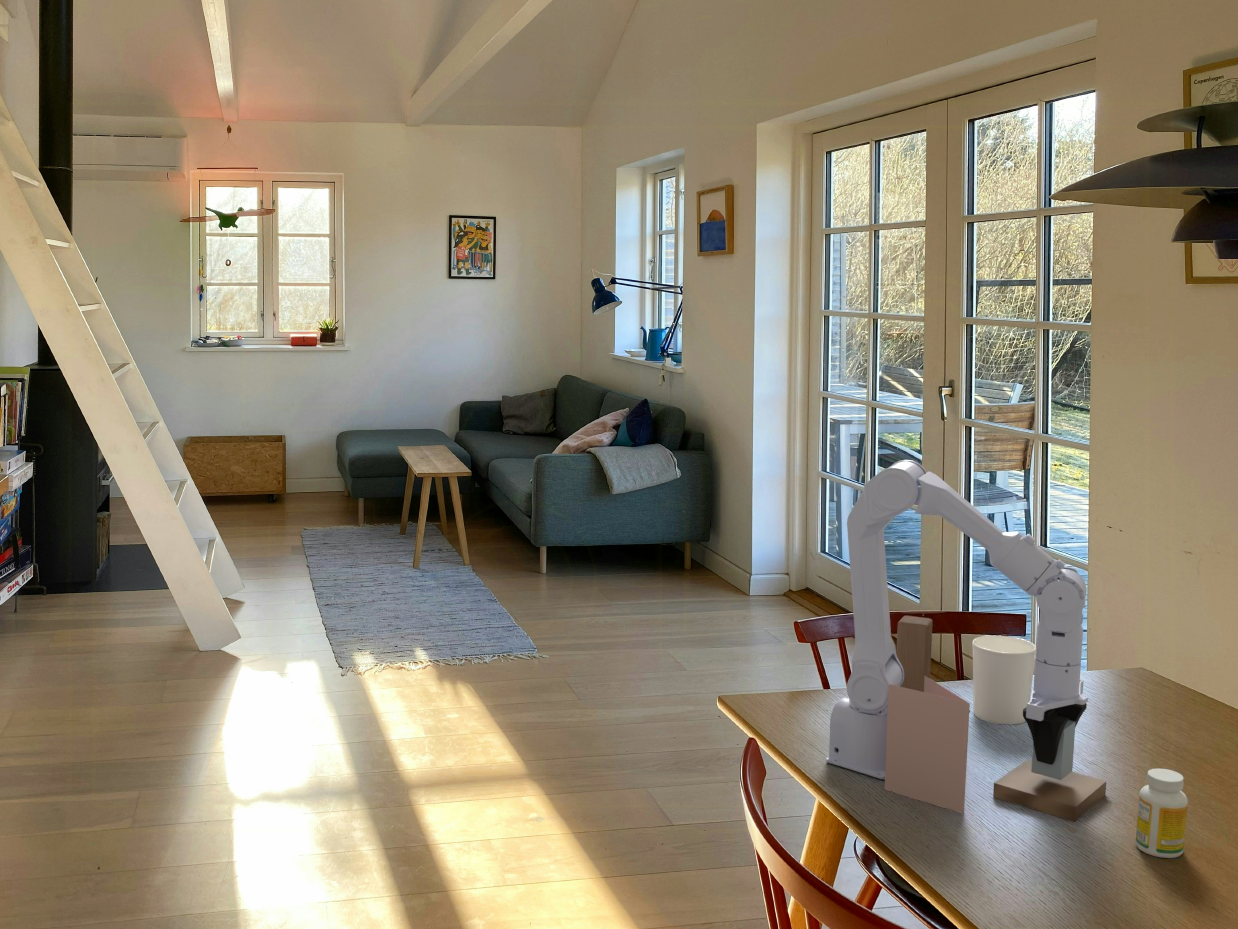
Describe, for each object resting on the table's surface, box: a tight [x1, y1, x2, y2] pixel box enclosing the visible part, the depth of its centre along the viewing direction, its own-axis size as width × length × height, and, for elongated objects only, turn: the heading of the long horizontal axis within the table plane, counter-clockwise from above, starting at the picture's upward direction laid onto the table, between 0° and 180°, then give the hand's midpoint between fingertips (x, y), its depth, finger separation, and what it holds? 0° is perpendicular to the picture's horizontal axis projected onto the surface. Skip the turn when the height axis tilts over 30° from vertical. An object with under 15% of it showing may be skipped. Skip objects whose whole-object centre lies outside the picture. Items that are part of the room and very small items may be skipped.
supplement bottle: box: [1135, 768, 1189, 859], centre depth 142 cm, size 5×5×10 cm
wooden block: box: [896, 615, 934, 692], centre depth 178 cm, size 9×4×18 cm, turn 64°
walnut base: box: [992, 759, 1107, 822], centre depth 157 cm, size 11×11×2 cm
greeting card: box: [884, 676, 971, 815], centre depth 155 cm, size 11×7×15 cm, turn 15°
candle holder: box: [971, 635, 1036, 726], centre depth 187 cm, size 10×10×12 cm
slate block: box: [1031, 720, 1076, 780], centre depth 156 cm, size 4×4×7 cm
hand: (1051, 757), depth 156 cm, fingers closed on slate block, 4 cm apart
